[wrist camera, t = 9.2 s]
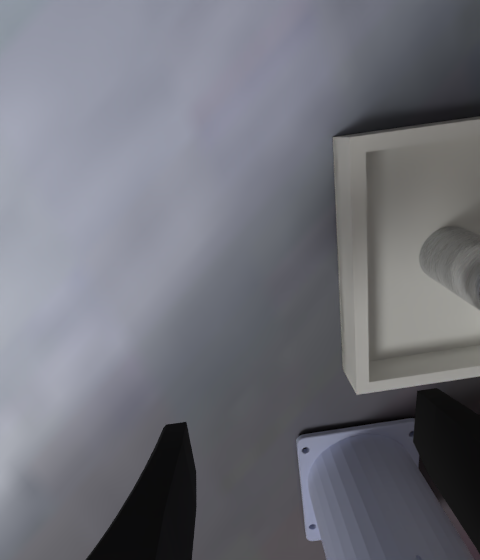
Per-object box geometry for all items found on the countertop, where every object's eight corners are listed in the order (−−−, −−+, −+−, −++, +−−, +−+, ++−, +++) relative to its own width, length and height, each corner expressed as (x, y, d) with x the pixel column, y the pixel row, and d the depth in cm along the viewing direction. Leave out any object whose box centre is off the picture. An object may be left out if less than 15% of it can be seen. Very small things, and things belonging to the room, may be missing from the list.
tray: (494, 346, 24) (524, 369, 22) (342, 369, 24) (356, 394, 21) (521, 110, 19) (564, 107, 17) (332, 137, 19) (349, 137, 17)
